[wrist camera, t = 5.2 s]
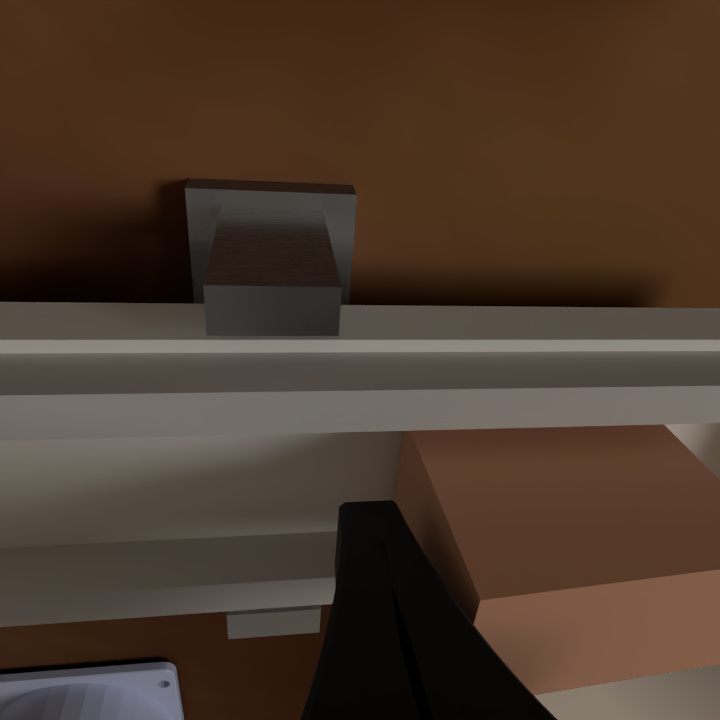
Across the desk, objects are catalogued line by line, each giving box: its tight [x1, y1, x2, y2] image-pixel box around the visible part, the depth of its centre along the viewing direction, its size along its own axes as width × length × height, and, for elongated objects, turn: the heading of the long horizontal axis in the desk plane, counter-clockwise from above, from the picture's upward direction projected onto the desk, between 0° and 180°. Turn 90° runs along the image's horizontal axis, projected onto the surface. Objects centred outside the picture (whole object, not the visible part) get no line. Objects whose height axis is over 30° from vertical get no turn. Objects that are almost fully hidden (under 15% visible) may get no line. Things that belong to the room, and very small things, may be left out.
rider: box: [394, 424, 720, 695], centre depth 12 cm, size 6×3×5 cm, turn 86°
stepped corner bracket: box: [185, 179, 357, 639], centre depth 15 cm, size 31×11×5 cm, turn 86°
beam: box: [0, 302, 720, 627], centre depth 12 cm, size 33×8×5 cm, turn 86°
